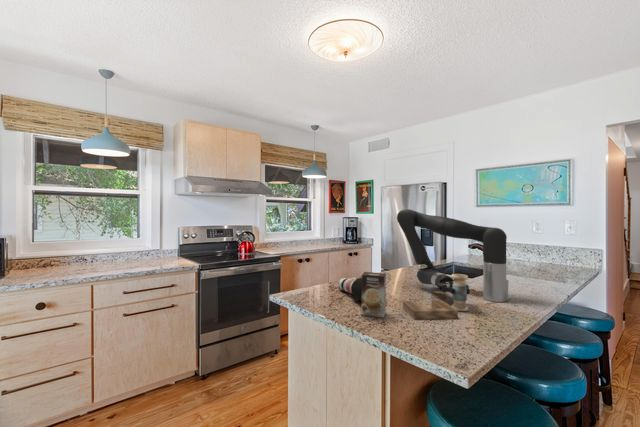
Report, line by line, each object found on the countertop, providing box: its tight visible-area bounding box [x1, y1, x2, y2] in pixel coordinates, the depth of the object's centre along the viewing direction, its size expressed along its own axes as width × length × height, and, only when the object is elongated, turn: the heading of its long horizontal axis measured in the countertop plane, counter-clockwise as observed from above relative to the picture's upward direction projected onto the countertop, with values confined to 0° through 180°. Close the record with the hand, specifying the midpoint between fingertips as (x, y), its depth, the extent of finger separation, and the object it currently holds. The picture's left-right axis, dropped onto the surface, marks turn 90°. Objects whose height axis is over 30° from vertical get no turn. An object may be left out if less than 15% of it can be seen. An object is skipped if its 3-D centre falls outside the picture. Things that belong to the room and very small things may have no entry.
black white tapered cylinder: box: [337, 277, 362, 302], centre depth 146 cm, size 10×34×10 cm, turn 18°
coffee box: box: [360, 271, 387, 318], centre depth 120 cm, size 9×6×16 cm
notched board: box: [402, 300, 459, 320], centre depth 121 cm, size 17×13×3 cm
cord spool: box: [450, 273, 469, 312], centre depth 125 cm, size 6×6×14 cm
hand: (461, 291), depth 123 cm, fingers closed on cord spool, 5 cm apart
